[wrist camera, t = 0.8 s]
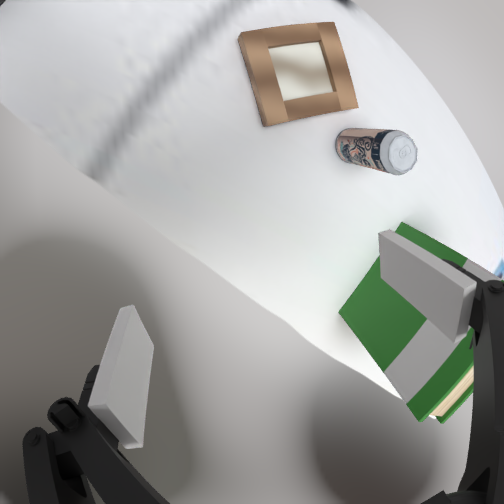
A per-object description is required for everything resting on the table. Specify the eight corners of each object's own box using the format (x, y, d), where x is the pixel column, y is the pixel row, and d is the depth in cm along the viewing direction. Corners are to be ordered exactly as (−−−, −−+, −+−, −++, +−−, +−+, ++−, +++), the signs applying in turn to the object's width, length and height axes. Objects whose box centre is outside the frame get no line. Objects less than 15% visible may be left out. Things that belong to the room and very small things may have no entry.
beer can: (327, 140, 37) (377, 146, 26) (353, 121, 37) (408, 122, 26) (346, 169, 39) (398, 186, 28) (370, 150, 38) (426, 160, 28)
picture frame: (237, 39, 30) (240, 32, 28) (325, 27, 31) (334, 21, 29) (263, 126, 35) (268, 126, 33) (348, 108, 36) (358, 107, 33)
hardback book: (366, 326, 50) (443, 423, 28) (338, 312, 48) (418, 421, 26) (425, 243, 46) (530, 313, 24) (401, 221, 44) (520, 291, 22)
